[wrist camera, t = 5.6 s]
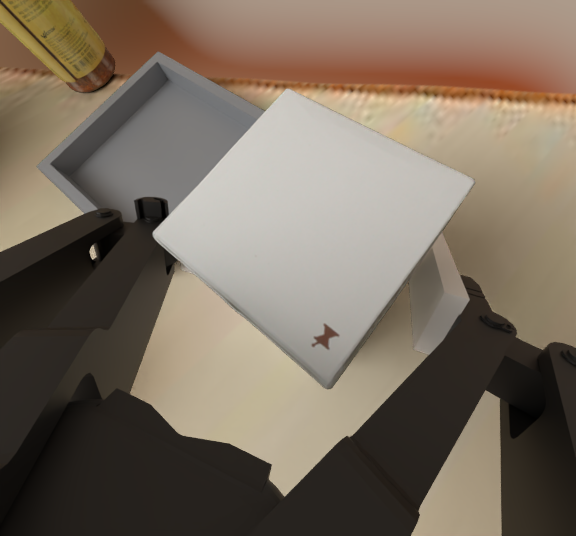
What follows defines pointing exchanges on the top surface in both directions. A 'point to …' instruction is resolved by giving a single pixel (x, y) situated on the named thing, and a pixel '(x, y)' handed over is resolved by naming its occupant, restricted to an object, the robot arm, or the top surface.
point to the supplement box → (313, 229)
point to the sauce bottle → (60, 40)
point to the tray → (149, 140)
